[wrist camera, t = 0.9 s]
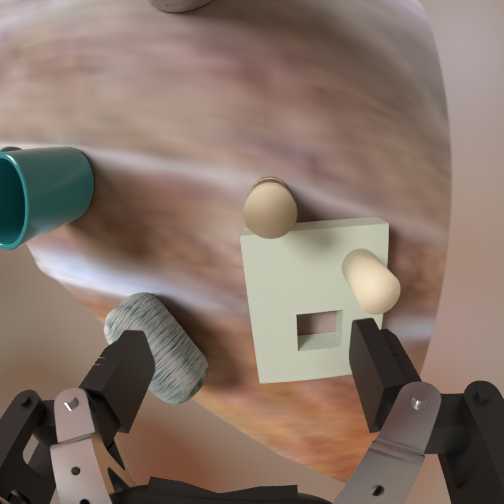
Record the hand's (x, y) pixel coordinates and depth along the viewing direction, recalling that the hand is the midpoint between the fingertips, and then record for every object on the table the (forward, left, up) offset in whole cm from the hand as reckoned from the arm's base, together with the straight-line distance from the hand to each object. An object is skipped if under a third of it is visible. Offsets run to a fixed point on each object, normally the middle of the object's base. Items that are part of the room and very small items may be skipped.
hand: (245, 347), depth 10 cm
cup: (-9, -23, -20) cm, 31 cm away
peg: (-3, +1, -19) cm, 20 cm away
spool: (+12, -13, -20) cm, 26 cm away
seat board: (+9, +5, -19) cm, 22 cm away
